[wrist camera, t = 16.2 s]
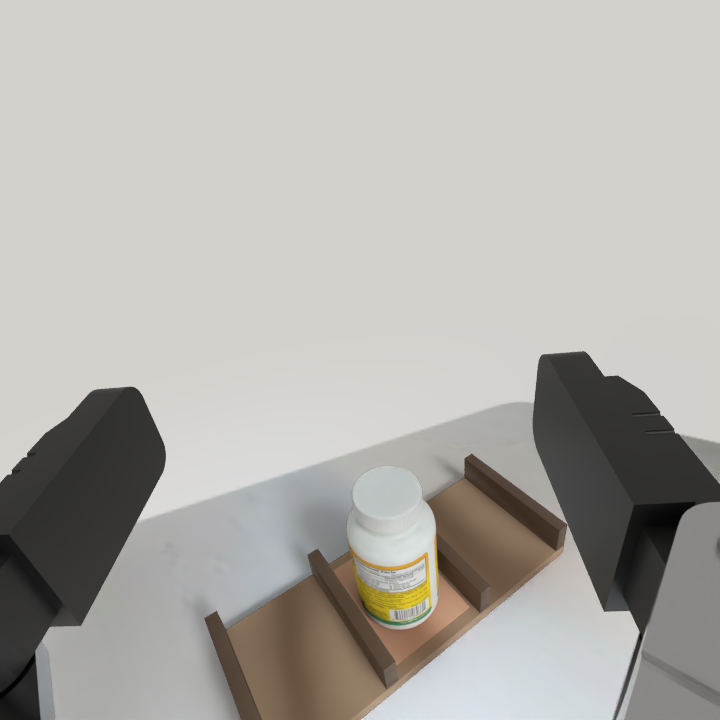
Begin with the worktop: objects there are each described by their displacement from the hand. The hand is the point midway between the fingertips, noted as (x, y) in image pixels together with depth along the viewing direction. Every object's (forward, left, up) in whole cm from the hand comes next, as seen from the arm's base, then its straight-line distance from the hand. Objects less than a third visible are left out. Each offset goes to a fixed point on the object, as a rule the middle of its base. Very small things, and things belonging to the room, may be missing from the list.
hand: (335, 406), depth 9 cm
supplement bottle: (-6, -9, -24) cm, 27 cm away
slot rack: (-6, -9, -25) cm, 27 cm away
